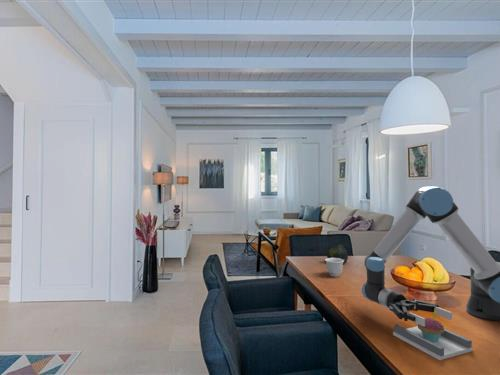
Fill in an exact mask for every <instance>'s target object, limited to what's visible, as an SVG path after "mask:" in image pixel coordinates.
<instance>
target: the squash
mask: <svg viewBox="0 0 500 375" xmlns="http://www.w3.org/2000/svg"><path fill="white" fill-rule="evenodd" d="M327 258H340V259H343V260H344V262H343V265H344V264H346V263H347V261H348V260H349V259H348V258H349V255H348V252H347V250H346V248H345V247H344V245H343V244H337V245H334V246H332V247H330V248H329V249H328V252H327V254H326V259H327Z"/></svg>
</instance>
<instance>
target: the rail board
mask: <svg viewBox="0 0 500 375" xmlns="http://www.w3.org/2000/svg"><path fill="white" fill-rule="evenodd" d="M392 335H393V336H395V337H396V338H398V339H400V340H401V341H403V342H406V343H407V344H410V345H411V346H413V347H414V348H417V349H418V350H420V351H422V352H423V353H426V354H428V355H429V356H430V357H432V358H435V359H436V360H439V361H443V360H446V359H450V358H453V357H456V356H460V355H463V354H466V353H470V352H473V346H472V342H473V341H472V340H471V339H470V338H466V337H464V336H462V335H460V334H458V333H455V332H453V331H451V330H448V329H446V328H444V332H443V333H441V334H440V337H439V339H438V341H437V342H431V341H429V340H427V339H425V338H424V337H423V334H422V332H421V330H420V329H418V325H417V326H413V327H412V326H411V327H408V328H406V327H403V326H401V325H399V324H393V332H392Z"/></svg>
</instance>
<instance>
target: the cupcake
mask: <svg viewBox="0 0 500 375" xmlns="http://www.w3.org/2000/svg"><path fill="white" fill-rule="evenodd" d="M436 316H437V314H436V308H435V309H434V312H433V317H432V318H430V317H429V318H427V317H426V318H425V326H421V325H419V324H417V326H418V329H420V330H421V332H422V334H423V337H424V338H425V339H427V340H429V341H431V342H437V341H438V339H439V337H440V334H441V333H443V332H444V329H445V328H444V325H443V324H442V323H441V322H440V321H438V320H437V319H436Z"/></svg>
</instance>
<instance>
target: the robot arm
mask: <svg viewBox="0 0 500 375" xmlns="http://www.w3.org/2000/svg"><path fill="white" fill-rule="evenodd" d="M458 212H459V207H458V206H457V205H456V203H455V202H454V198H453V196H452V194H451V193H450V192H449V191H448V190H446V189H445V188H443V187H441V186H435V185H434V186H423V187H421V188H419V189H417V191H416V192H415V193H414V194H413V196H412V197H411V199H410V200H409V201H408V203H407V204H406V205H405V210H404V211H403V212H402V214H401V215H400V216H399V217H398V219H397V220H396V221H395V223H394V224H393V226H392V227H391V228H390V229H389V230H388V232H387V233H386V234H385V235H384V237H382V239H381V241H379V243H378V244H377V246H376V247H375V248H374V249H373V251H372V252H371V253H370V254H369V255H367V256H366V257H365V258H364V266H365V270H366V282H365V283H363V284H362V288H361V294H362V296H363V297H364V298H366V299H367V300H369V301H371V302H374V303H377V304H378V305H381V306H383V307H385V308H386V309H388V310H389V311H391V312H392V313H394V315H395V316H396V317H397V318H398V319H399V320H403V321H404V322H408V320H409V321H411V322H413V323H415V324H417V325H418V324H419V325H421V326H425V319H426V318H425V317H423V316H420V315H418V314H415V313H414V312H418V311H420V312H421V311H422V312H427V313H429V312H430V313H434V309H435V308H436V316H439V317H442V318H444V319H447V320H450V321H452V320H453V312H452V311H449V310H446V309H444V308H441V307H440V304H438V303H432V302H427V301H424V300H419V299H416V298H413V299H412V300H410V299H407V298H406V296H405V295H404V294H402V293H400V292H397V291H395V290H393V289H389V288H387V287H386V286H385V285H386V282H385V278H386V277H385V276H386V274H385V272H386V270H385V268H386V265H385V264H386V263H387V261H388V260H389V259H390V258H391V256H392V255H393V254H394V253H395V252H396V250H397V249H398V248H399V247H400V245H401V244H402V243H403V242H404V240H405V239H406V238H407V237H408V235H409V234H410V233H411V232H412V231H413V229H414V228H415V227H416V226H417V224H419V222H420V221H421V220H425V219H426V217H427V218H428V220H429V221H430V222H431V223H432V224H437V225H438V226H439V227H440V229H441V230H442V232H443V233H444V234H445V235H446V236H447V238H448V239H449V241H450V242H451V243H452V244H453V245H454V247H455V248H456V250H457V251H458V252H459V253H460V254H461V256H462V257H463V258H464V260H465V261H466V262H467V264H468V265H469V266H470V268H469V271H470V295H469V298H468V301H467V303H466V305H465V311H466V313H467V314H469V315H470V316H473V317H477V318H479V319H484V320H489V321H500V261H496V260H495V258H493V257H492V255H491V254H490V252H489V251H488V250H487V249H486V247H485V246H484V245H483V244H482V242H481V241H480V239H479V238H478V237H477V236H476V235H475V234H474V232H473V231H472V230H471V228H470V227H469V226H468V225H467V223H466V222H465V221H464V219H463V218H462V216H460V215H459V213H458ZM411 311H412V312H411ZM413 311H414V312H413Z"/></svg>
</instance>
